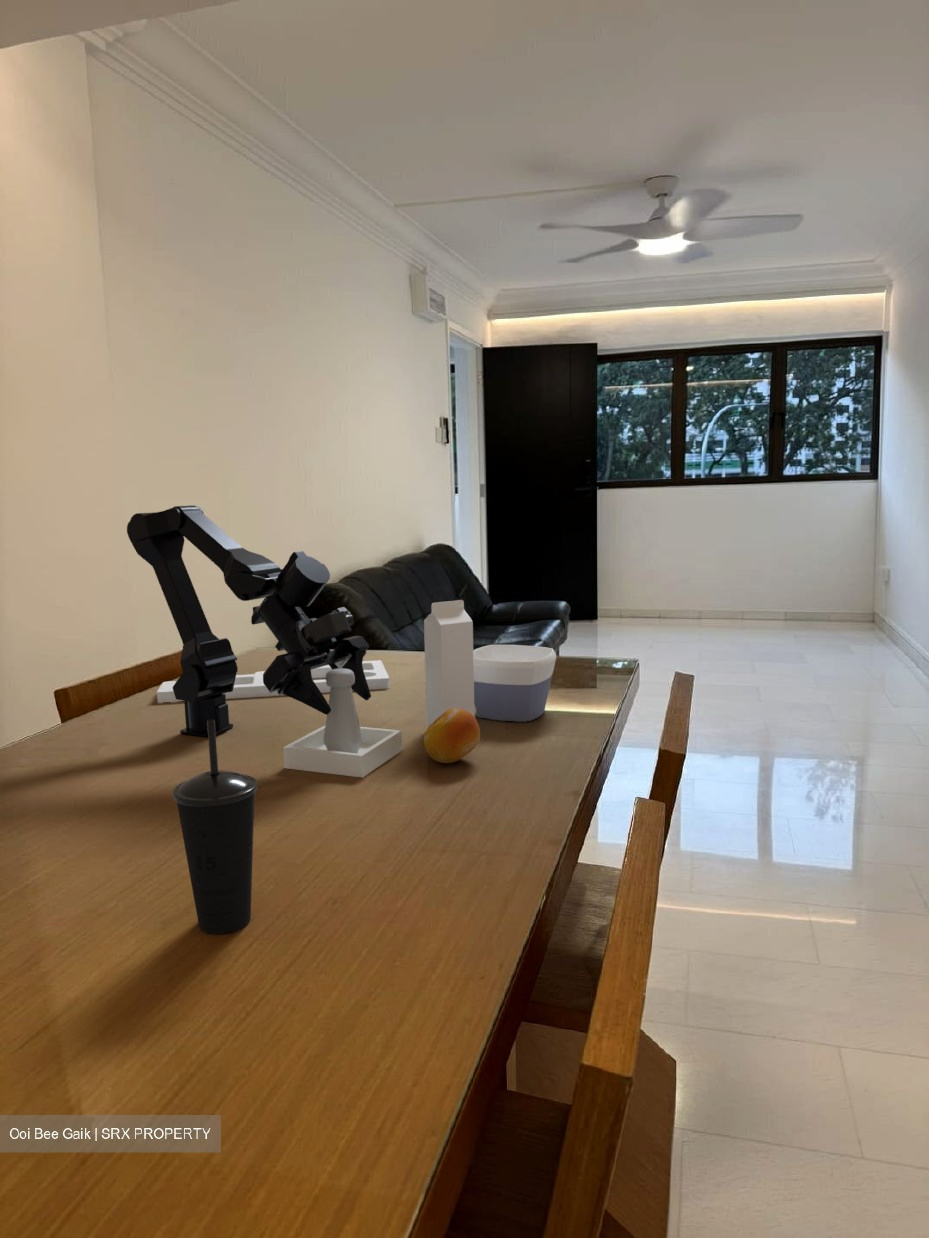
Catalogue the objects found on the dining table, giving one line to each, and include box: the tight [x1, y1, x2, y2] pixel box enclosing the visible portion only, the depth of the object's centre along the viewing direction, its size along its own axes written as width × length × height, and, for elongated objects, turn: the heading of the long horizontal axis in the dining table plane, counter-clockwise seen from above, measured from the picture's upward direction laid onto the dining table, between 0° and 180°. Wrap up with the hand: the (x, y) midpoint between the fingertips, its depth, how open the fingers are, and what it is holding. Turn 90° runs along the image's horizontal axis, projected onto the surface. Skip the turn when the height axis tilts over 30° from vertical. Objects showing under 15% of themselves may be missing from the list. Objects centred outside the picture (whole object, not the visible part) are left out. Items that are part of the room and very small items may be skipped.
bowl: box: [473, 644, 557, 723], centre depth 154 cm, size 15×15×11 cm
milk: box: [423, 599, 476, 730], centre depth 142 cm, size 6×6×22 cm
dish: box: [283, 725, 403, 778], centre depth 131 cm, size 13×13×3 cm
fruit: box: [423, 708, 481, 764], centre depth 128 cm, size 8×9×8 cm
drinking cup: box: [172, 720, 258, 935], centre depth 82 cm, size 8×8×20 cm
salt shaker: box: [324, 668, 362, 753], centre depth 130 cm, size 6×6×13 cm
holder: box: [156, 659, 391, 704], centre depth 180 cm, size 45×18×3 cm, turn 101°
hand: (349, 705), depth 129 cm, fingers open, 9 cm apart
